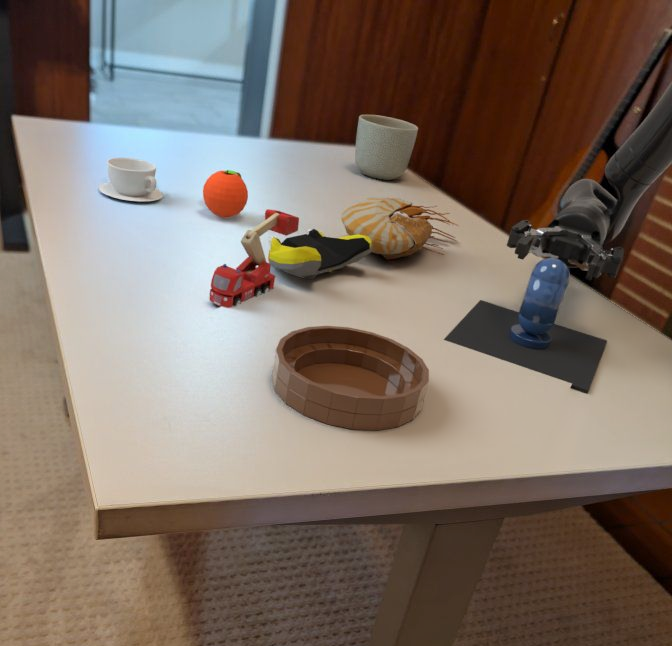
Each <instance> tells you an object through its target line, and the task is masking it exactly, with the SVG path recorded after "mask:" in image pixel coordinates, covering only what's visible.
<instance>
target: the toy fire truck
mask: <svg viewBox="0 0 672 646" xmlns="http://www.w3.org/2000/svg"><path fill="white" fill-rule="evenodd" d="M299 222H300V217H298V216H296V215H293V214H290V213H286V212H283V211H280V210H278V209H277V210H276V209H271V208H270V209H265V212H264V221H262V222H261V223H259V224H258V225H257V226H256V227H254V228H253V229H247V230H246V232H245V234H244V235H243V237H242V238H241V240H240V244H241V245H242V247H243V249H244V251H245V253H246V254H247V257H246V258H245V259H244V260H243V261H242V262H241V263H240V264H239V265H238V266H237V267H236V268H233V267H230V266H228V265H227V264H226V263H223V264H222V265H220V266H217V267H216V268H215V270H214V272H213V274H212V277H211V281H210V289H209V302H211V303H212V304H214V305H216V306H217V307H220V308H221V307H223V308H229V309H230V308H233V307H237V306H238V305H241V304H242V303H244V302H246V301H249V300H251V299H252V298H253V299H254V298H258V296H261V295H262V294H263V295H265V294H266V293H268V292H270V291H271V290H273V289H274V288H275V281H276V280H275V279H276V275H275V274H273V273H271V269H272V268H271V267H272V266H271V264H270V263H269V262H267V259H266V255H265V251H264V248H263V245H262V242H261V236H263V235H264V234H265V233H267V232H268V231H272V232H274V233H277V234H280V235H283V236H290V235H292V234H294V233H296V232H298V231H299Z"/></svg>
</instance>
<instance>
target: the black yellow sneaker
mask: <svg viewBox="0 0 672 646" xmlns="http://www.w3.org/2000/svg"><path fill="white" fill-rule="evenodd" d="M268 243H269V244H268V245H269V248H270V249H269V250H268V255H267V261H268V263H269V264H271V267H273V268H275V269H277V270H279V271H282V272H285V273H286V274H289V275H290V274H291V275H293V276H296V277H298V278H302V279H306V280H313V279H315V278H316V277H317V275H320V274H324V273H327V272H328V273H332V272H333V271H334V270H338V269H342V268H344V267H347V266H349V265H352V264H354V263H357V262H359V261H361V260H363V259H364V258H365V257H366V256H368V255H369V254H371V253H372V252H371V249H372V241H371V239H370V237H368V236H363V235H358V234H356V235H351V236H350V235H345V236H339V237H330V236H326V235H325V234H324V233H323V232H322V231H320V230H318V229H315V228H308V229H307V230H306V233H304V234H300V235H295V236H290V237H286V238H285V239H283V241H281V240H280V239H279V238H278V237H274V236H273V237H271V236H269V238H268Z"/></svg>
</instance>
